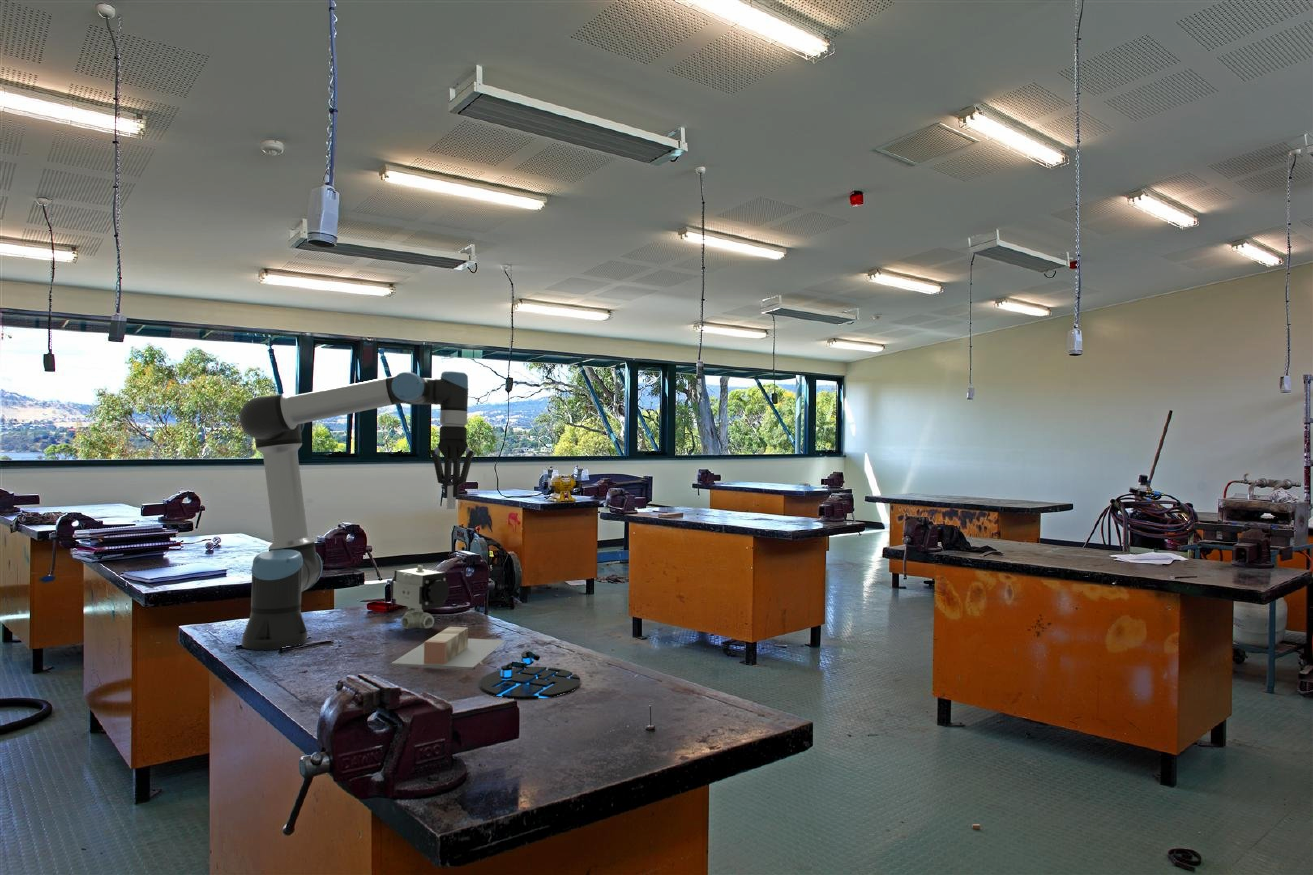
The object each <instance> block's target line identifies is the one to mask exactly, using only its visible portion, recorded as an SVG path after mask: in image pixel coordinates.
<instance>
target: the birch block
mask: <svg viewBox="0 0 1313 875" xmlns="http://www.w3.org/2000/svg"><path fill="white" fill-rule="evenodd" d="M468 639H469V627H465V626H463V627H460V626H448V627H446V628H445V629H443V630H441V631H440V632H438V633H437V634H435V635H434V636H432V637H430V638H428V639H427V640H425V641H423V643H424V663H432V664H445V663H447V662H448V661H449V660H451V659H452V658H453V657H455V656H456V655H457V654H459V653H460V652H462V651H463V650H464V649H466V648H467V647H468Z"/></svg>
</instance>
